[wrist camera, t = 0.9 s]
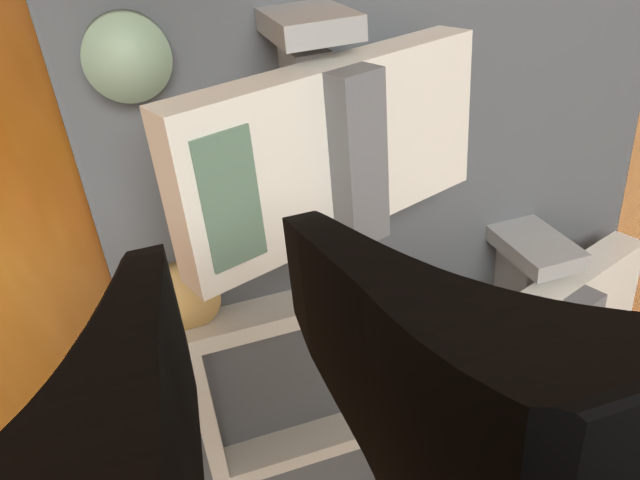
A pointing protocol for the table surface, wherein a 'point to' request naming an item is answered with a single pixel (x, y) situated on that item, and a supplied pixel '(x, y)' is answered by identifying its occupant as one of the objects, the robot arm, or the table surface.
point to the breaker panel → (405, 225)
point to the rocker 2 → (600, 276)
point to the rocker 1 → (308, 150)
